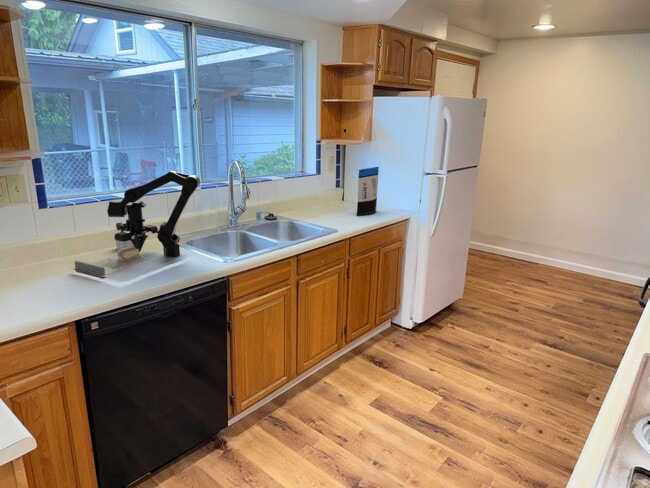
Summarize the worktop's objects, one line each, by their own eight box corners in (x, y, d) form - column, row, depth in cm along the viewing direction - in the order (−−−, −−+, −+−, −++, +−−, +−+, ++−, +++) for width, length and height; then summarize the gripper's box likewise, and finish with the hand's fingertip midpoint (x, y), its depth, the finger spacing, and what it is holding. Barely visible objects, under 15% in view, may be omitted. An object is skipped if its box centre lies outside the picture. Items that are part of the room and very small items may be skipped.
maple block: (139, 257, 192) (138, 249, 190) (127, 261, 186) (127, 252, 185) (129, 255, 194) (128, 246, 193) (118, 259, 189) (116, 250, 188)
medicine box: (122, 253, 202) (120, 235, 199) (116, 251, 204) (114, 233, 201) (137, 249, 208) (136, 231, 206) (131, 247, 210) (130, 230, 208)
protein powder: (382, 211, 303) (384, 167, 295) (362, 217, 284) (365, 170, 276) (370, 209, 309) (372, 166, 300) (350, 215, 290) (352, 169, 281)
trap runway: (151, 261, 192) (150, 251, 190) (103, 278, 171) (101, 267, 170) (125, 255, 198) (124, 246, 197) (75, 271, 178) (74, 261, 176)
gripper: (139, 211, 202) (142, 244, 206) (103, 219, 186) (107, 254, 190) (157, 214, 197) (160, 247, 201) (122, 222, 181) (125, 258, 185)
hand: (138, 251), depth 195 cm, fingers closed
